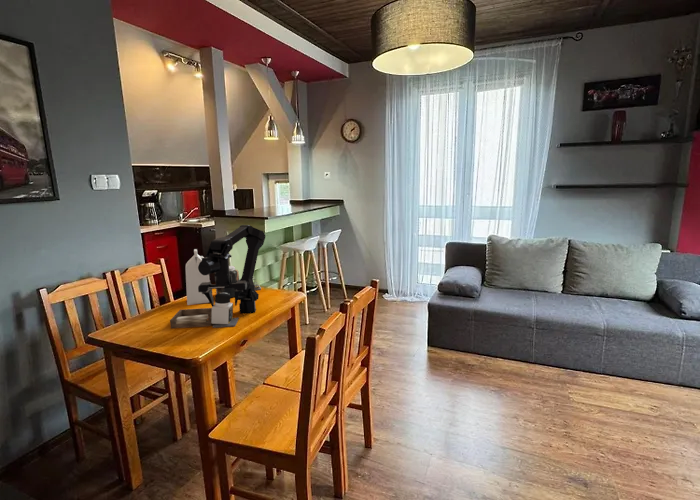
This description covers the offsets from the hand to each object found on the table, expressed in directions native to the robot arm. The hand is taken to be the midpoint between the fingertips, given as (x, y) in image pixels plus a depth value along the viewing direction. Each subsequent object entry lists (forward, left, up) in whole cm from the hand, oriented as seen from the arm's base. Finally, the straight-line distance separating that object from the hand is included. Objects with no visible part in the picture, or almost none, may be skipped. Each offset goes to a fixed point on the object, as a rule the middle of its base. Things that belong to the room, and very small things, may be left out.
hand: (224, 306), depth 157 cm
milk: (+19, -36, -8) cm, 42 cm away
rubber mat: (0, 0, -8) cm, 8 cm away
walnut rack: (+13, -6, -8) cm, 17 cm away
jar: (+6, -43, -8) cm, 44 cm away
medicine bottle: (+1, 0, -7) cm, 7 cm away
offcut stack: (+13, 0, -8) cm, 16 cm away
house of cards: (-7, -53, -8) cm, 54 cm away
